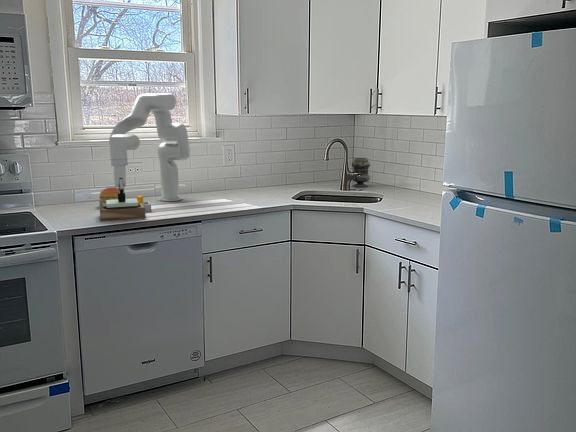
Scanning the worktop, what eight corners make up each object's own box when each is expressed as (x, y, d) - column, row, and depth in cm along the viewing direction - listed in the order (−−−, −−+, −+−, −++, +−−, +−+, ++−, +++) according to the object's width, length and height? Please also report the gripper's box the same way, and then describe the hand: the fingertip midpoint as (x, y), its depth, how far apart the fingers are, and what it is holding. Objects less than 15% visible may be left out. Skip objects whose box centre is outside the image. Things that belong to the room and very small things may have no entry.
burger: (130, 204, 302) (129, 185, 300) (121, 209, 288) (119, 189, 286) (105, 204, 302) (104, 185, 300) (95, 208, 289) (94, 189, 287)
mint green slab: (106, 203, 271) (105, 189, 270) (136, 201, 275) (135, 188, 274) (106, 207, 260) (105, 193, 259) (138, 205, 264) (137, 192, 263)
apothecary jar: (365, 188, 353) (366, 159, 350) (347, 186, 359) (348, 158, 356) (372, 185, 363) (373, 157, 360) (355, 184, 369) (356, 156, 366)
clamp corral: (115, 210, 285) (115, 203, 284) (149, 208, 290) (149, 201, 289) (116, 213, 277) (116, 206, 276) (151, 211, 282) (150, 204, 282)
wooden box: (100, 216, 271) (99, 199, 269) (143, 213, 277) (142, 197, 276) (100, 220, 260) (99, 203, 258) (145, 217, 266) (144, 201, 265)
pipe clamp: (125, 213, 278) (124, 200, 276) (120, 211, 280) (119, 199, 279) (145, 209, 287) (145, 196, 285) (140, 208, 289) (139, 195, 288)
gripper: (110, 160, 270) (112, 198, 274) (111, 164, 255) (114, 204, 259) (126, 160, 272) (128, 197, 276) (128, 164, 257) (131, 203, 261)
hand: (121, 200), depth 267 cm, fingers closed on mint green slab, 3 cm apart
